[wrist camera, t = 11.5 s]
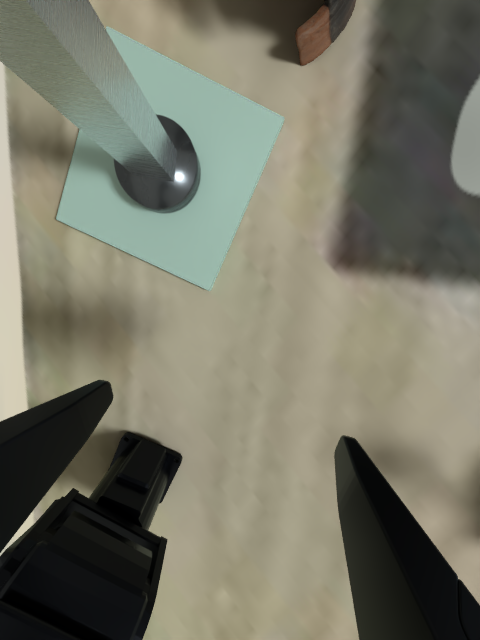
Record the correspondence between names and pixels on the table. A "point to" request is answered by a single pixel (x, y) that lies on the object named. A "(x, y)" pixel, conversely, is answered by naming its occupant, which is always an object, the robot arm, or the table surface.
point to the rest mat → (215, 161)
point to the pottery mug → (322, 28)
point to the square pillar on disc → (99, 97)
